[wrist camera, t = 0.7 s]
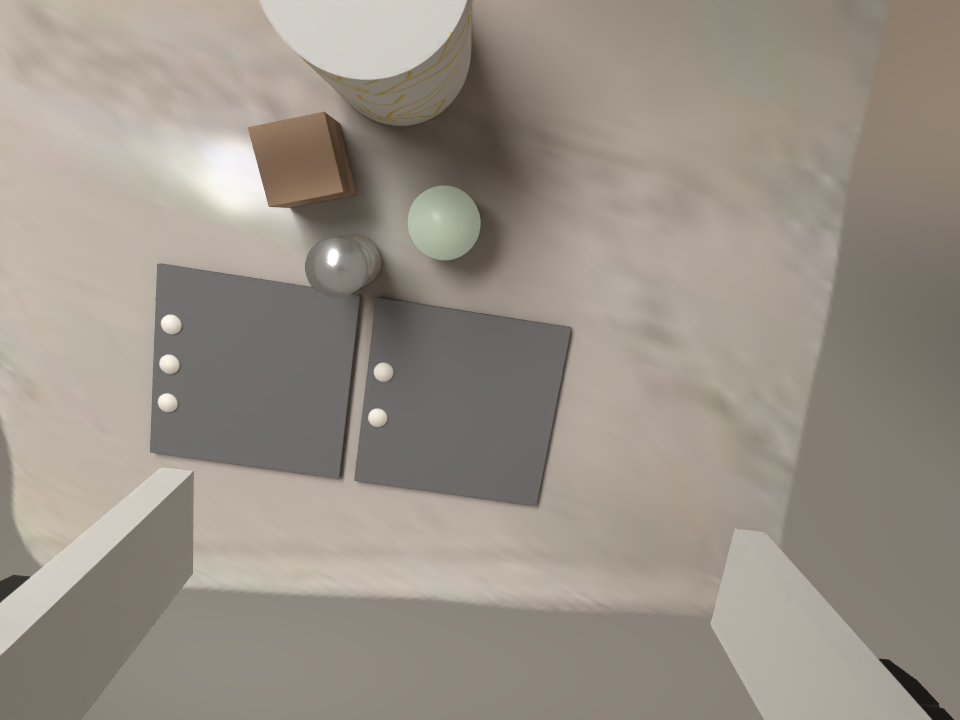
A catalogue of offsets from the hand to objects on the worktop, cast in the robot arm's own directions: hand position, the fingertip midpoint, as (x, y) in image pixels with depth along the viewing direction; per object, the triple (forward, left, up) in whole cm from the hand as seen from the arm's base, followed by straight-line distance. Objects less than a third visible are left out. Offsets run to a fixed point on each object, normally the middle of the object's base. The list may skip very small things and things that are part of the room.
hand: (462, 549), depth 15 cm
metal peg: (-4, -7, -24) cm, 25 cm away
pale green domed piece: (-7, -2, -24) cm, 25 cm away
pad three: (+4, -13, -24) cm, 27 cm away
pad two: (+4, 0, -24) cm, 24 cm away
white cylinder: (-16, -6, -24) cm, 30 cm away
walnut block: (-9, -10, -24) cm, 28 cm away
